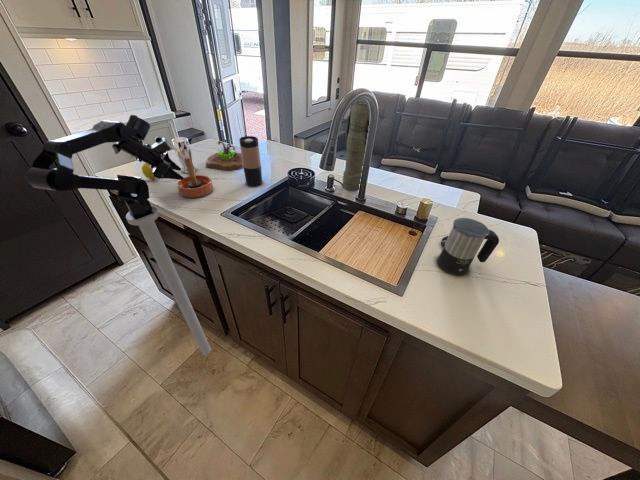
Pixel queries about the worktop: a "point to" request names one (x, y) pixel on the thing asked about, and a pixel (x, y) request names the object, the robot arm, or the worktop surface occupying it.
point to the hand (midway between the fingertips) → (181, 174)
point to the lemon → (148, 171)
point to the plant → (225, 159)
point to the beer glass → (183, 151)
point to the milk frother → (466, 245)
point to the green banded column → (355, 145)
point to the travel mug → (251, 160)
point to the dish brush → (191, 174)
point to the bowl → (195, 192)
